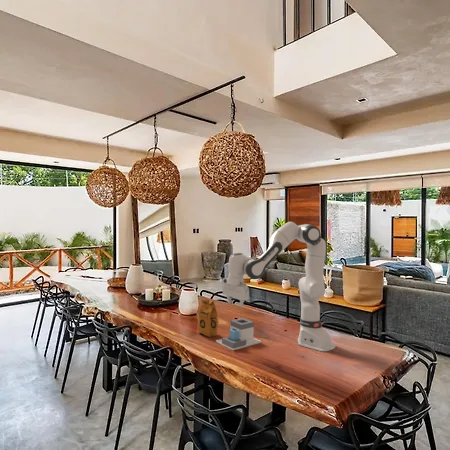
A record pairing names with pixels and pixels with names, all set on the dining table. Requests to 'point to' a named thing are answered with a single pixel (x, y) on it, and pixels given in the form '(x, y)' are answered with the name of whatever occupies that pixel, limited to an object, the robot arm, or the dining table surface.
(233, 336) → the plug
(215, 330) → the coffee package
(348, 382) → the dining table surface
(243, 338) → the square socket plate
